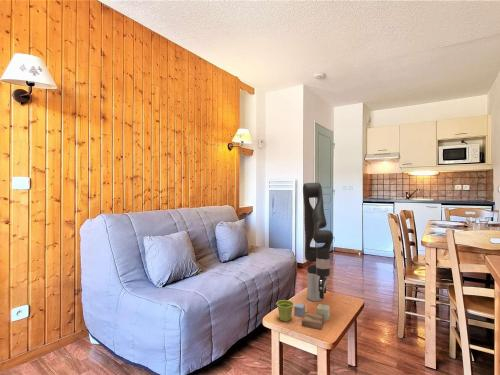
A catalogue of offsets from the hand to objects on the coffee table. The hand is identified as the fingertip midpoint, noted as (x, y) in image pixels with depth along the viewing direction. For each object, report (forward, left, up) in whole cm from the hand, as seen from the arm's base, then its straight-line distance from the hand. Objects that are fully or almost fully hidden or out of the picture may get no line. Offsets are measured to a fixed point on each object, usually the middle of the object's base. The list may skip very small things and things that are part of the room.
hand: (322, 295), depth 155 cm
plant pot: (+10, -19, -12) cm, 24 cm away
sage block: (0, 0, -12) cm, 12 cm away
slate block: (+1, -13, -12) cm, 18 cm away
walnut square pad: (+9, -4, -12) cm, 15 cm away
